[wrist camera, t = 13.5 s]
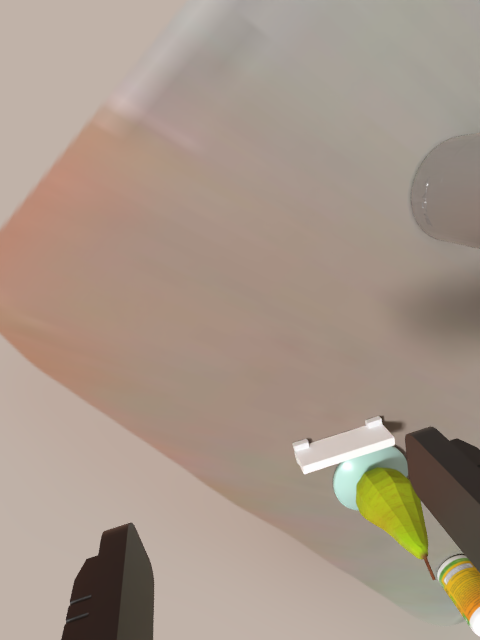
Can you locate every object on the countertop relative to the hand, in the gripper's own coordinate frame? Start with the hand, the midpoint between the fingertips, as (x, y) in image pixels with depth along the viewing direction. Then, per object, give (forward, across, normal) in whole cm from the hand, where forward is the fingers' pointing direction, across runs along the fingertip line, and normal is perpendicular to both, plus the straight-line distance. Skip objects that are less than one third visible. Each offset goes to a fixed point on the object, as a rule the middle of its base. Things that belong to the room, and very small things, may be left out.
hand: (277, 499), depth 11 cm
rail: (+26, -10, +21) cm, 35 cm away
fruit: (+26, -13, +27) cm, 40 cm away
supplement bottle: (+26, -23, +48) cm, 59 cm away
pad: (+26, -13, +28) cm, 40 cm away
